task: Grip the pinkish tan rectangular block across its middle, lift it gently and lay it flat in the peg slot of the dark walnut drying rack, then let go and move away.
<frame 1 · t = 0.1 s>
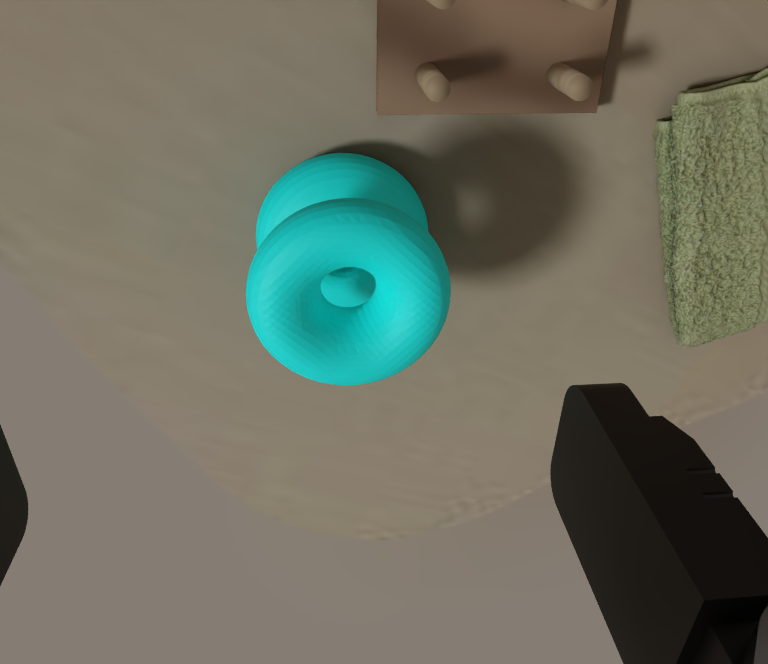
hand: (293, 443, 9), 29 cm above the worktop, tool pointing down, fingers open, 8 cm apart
washcloth: (749, 200, 41), on the worktop
donuts: (342, 227, 39), on the worktop
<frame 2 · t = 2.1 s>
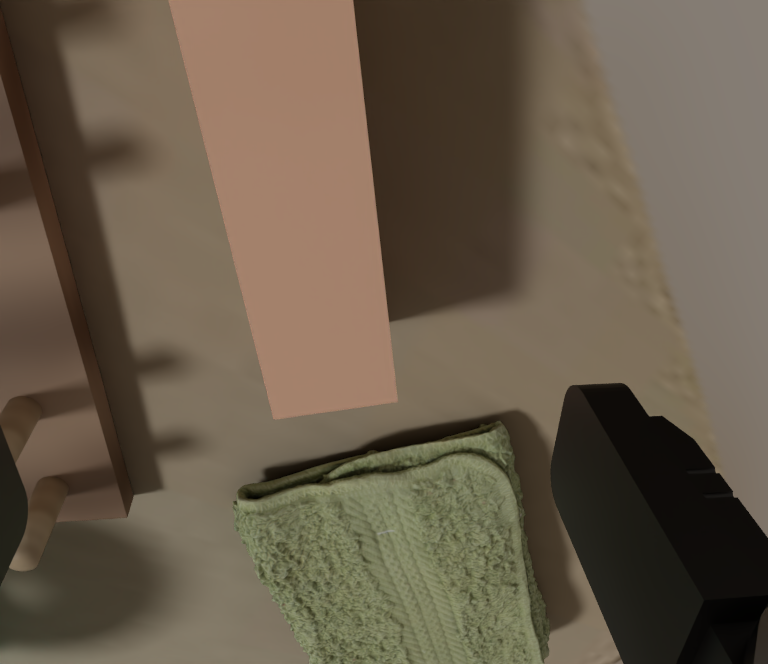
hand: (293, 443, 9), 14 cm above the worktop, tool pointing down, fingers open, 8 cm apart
washcloth: (402, 554, 33), on the worktop
pinkish tan rectangular block: (300, 147, 21), on the worktop
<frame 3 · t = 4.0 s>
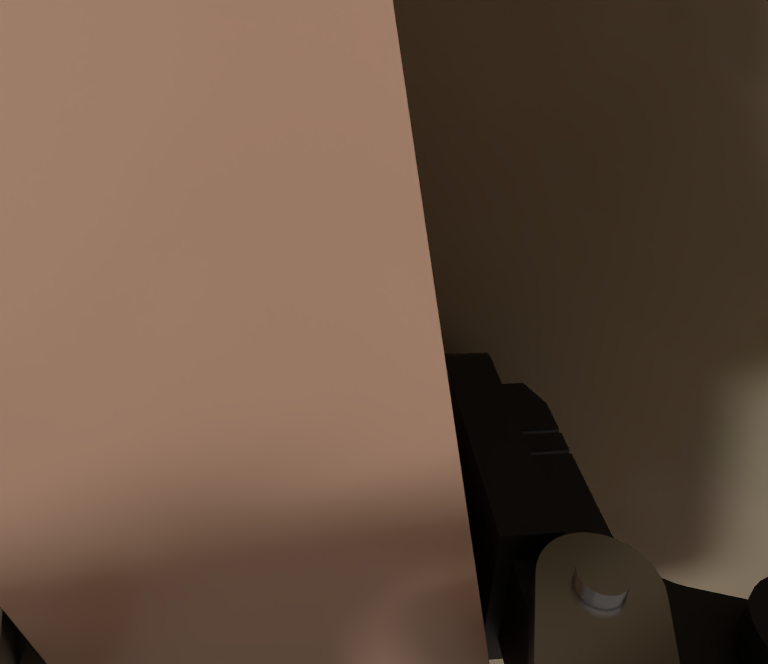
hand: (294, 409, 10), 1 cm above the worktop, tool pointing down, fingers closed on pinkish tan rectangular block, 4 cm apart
pinkish tan rectangular block: (297, 384, 11), on the worktop, touching gripper
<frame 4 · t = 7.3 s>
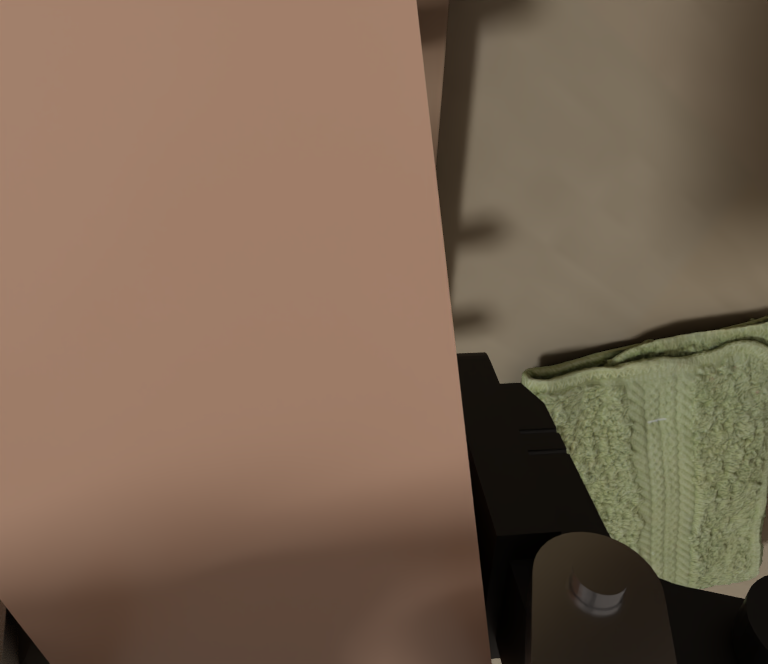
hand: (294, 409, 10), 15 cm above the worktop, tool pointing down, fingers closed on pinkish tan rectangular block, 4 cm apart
drying rack: (264, 152, 23), on the worktop
washcloth: (630, 460, 34), on the worktop
pinkish tan rectangular block: (299, 386, 11), point 15 cm above the worktop, touching gripper
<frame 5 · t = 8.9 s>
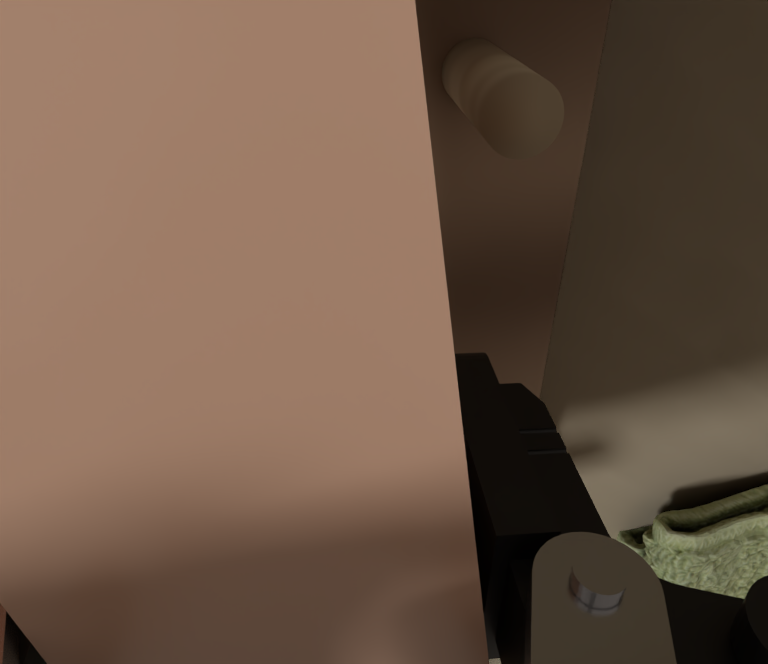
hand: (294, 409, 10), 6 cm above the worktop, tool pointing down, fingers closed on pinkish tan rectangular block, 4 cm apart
drying rack: (299, 243, 15), on the worktop
pinkish tan rectangular block: (298, 388, 11), point 5 cm above the worktop, touching gripper
when the fingers open (3 cm above the worktop, at t = 10.4 s): pinkish tan rectangular block stays where it is, resting on drying rack.
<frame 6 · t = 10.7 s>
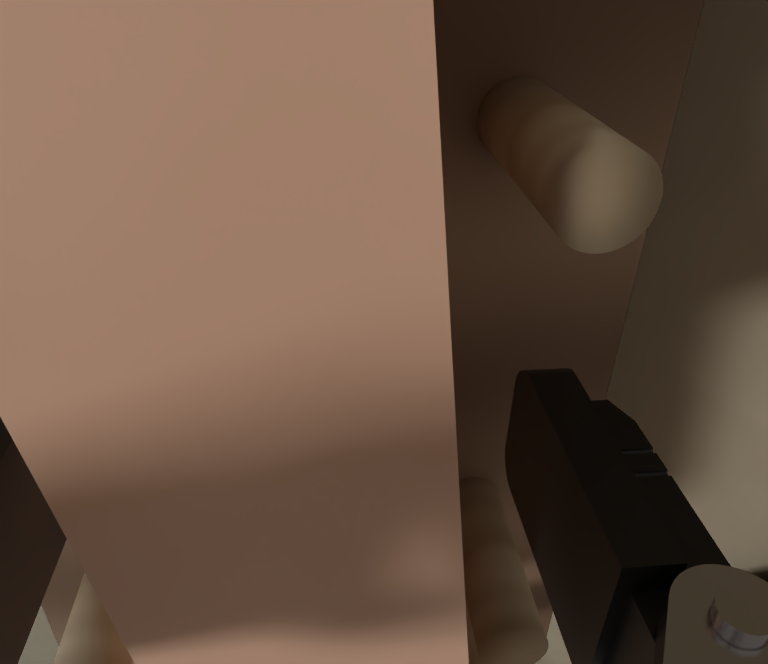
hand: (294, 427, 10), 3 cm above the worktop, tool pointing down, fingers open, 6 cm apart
drying rack: (297, 315, 13), on the worktop
pinkish tan rectangular block: (296, 351, 12), point 1 cm above the worktop, touching drying rack
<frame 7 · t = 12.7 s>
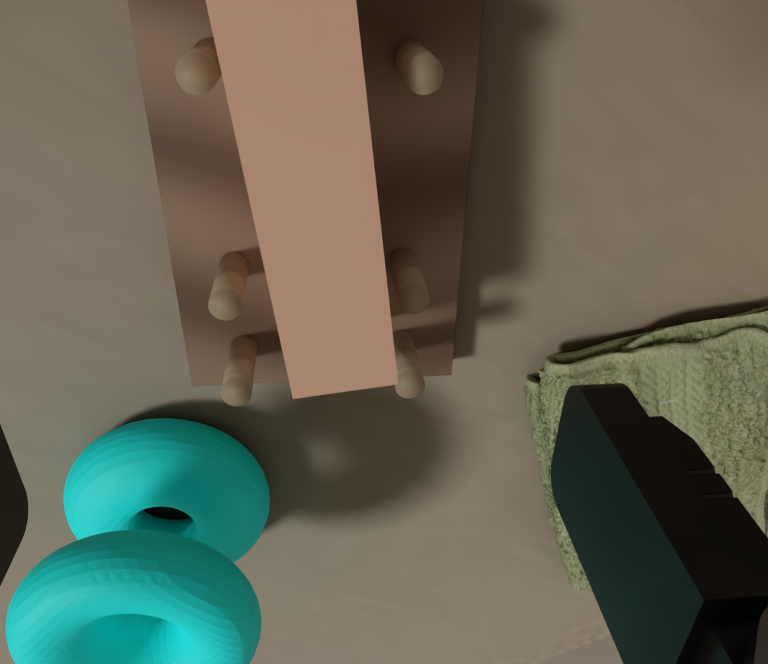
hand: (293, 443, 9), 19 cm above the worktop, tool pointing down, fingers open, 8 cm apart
drying rack: (315, 159, 26), on the worktop
washcloth: (643, 442, 37), on the worktop
donuts: (176, 478, 34), on the worktop
pinkish tan rectangular block: (316, 169, 25), point 1 cm above the worktop, touching drying rack
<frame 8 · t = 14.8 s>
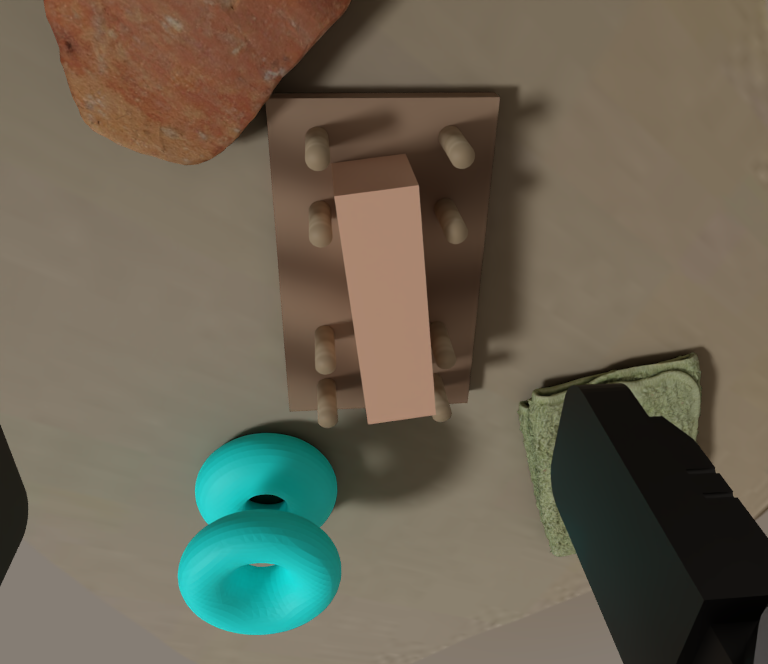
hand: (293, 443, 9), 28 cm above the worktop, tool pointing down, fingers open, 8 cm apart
drying rack: (379, 264, 39), on the worktop
washcloth: (604, 448, 50), on the worktop
donuts: (268, 474, 48), on the worktop
pinkish tan rectangular block: (381, 274, 38), point 1 cm above the worktop, touching drying rack
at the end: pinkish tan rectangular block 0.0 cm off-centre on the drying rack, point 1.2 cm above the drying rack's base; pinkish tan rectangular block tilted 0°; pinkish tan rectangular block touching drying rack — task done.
